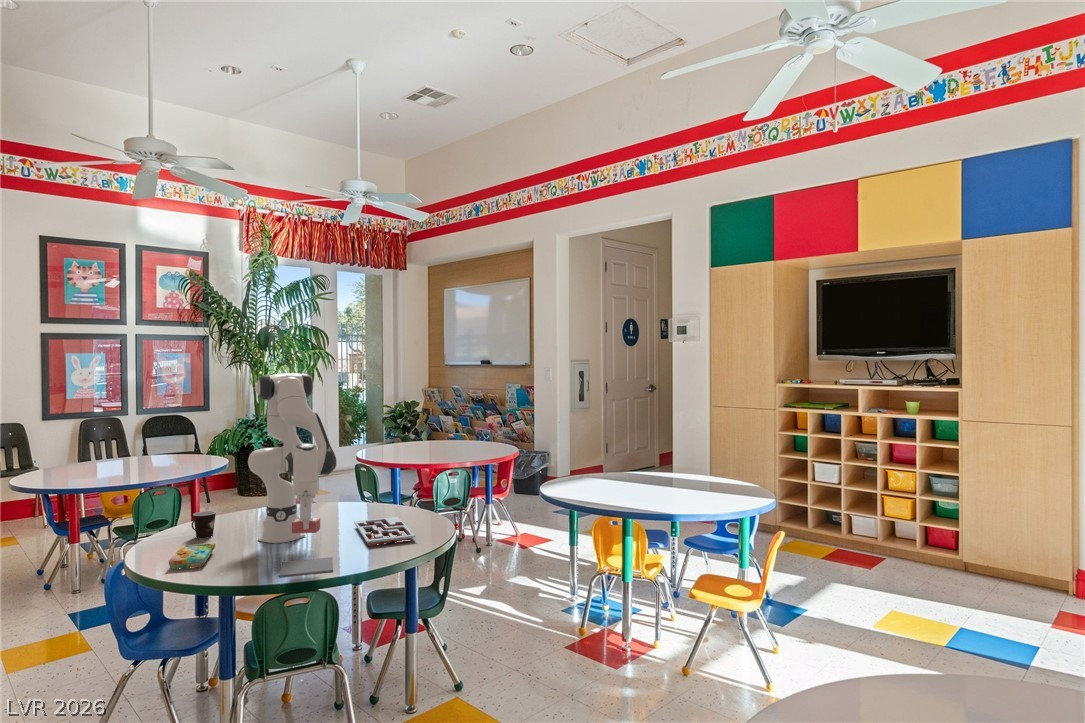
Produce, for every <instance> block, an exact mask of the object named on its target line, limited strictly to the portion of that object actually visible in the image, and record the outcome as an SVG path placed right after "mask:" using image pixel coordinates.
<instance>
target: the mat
mask: <svg viewBox="0 0 1085 723" xmlns="http://www.w3.org/2000/svg"><path fill="white" fill-rule="evenodd" d="M333 561H334V560H333V557H332V556H329V557H328V556H327V557H319V558H310V559H309V558H307V559H301V560H299V559H298V560H289V561H281V564H280V569H279V573H278V577H279V578H286V577H294V576H295V577H296V576H304V575H305V576H306V575H312V574H323V573H333V572H334V565H333V564H334V562H333Z"/></svg>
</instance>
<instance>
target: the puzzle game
mask: <svg viewBox="0 0 1085 723" xmlns="http://www.w3.org/2000/svg"><path fill="white" fill-rule="evenodd" d="M215 548H216V543H205V544H203V543H202V544H190V545H189V544H188V545H182V546H181V547H180V548H179V549H178V550H177V551H176V552H175V553H174V554H173V555H172V557H171V558H170V559H169V560H168V566H169V567H170V568H171V569H172V570H173V569H177V570H180V569H179V568H188V569H191V568H190V567H199V568H202V567H203V566H204V565H205V563H206V562H207V561H208V559H209V558H210V556H211V554H212V553H213V551H214V550H215Z"/></svg>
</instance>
